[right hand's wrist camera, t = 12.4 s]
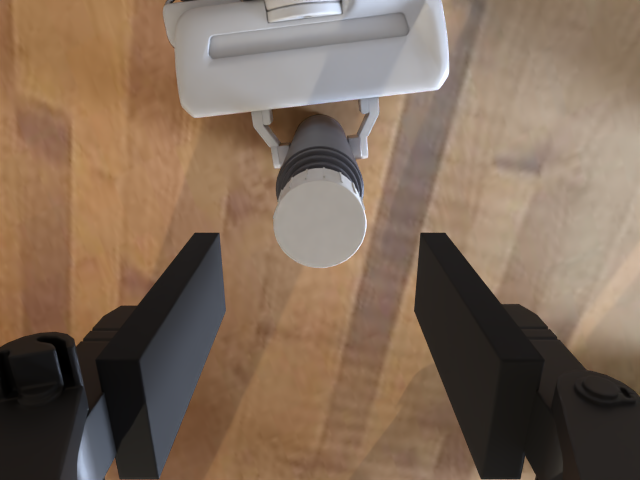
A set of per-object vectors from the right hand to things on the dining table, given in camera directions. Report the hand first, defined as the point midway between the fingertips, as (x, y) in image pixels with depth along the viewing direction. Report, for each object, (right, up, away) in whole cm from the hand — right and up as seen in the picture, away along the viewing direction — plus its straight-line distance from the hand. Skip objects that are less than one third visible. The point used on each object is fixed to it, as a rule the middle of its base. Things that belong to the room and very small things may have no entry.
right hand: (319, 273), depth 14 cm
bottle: (0, +10, +28) cm, 30 cm away
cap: (0, +2, +5) cm, 5 cm away
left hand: (0, +7, +23) cm, 24 cm away
